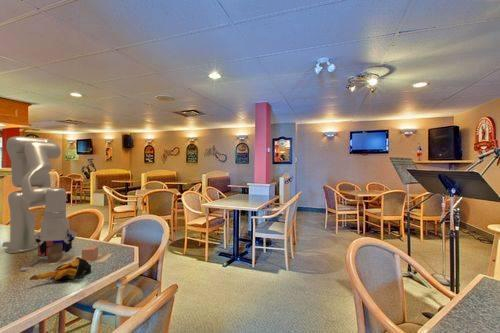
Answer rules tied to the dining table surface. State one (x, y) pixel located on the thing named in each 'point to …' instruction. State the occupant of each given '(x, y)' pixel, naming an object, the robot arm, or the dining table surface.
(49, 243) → the puzzle cube
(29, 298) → the dining table surface
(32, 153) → the robot arm
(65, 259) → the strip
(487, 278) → the dining table surface
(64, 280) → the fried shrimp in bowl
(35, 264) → the lane mat
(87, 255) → the block
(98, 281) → the dining table surface
